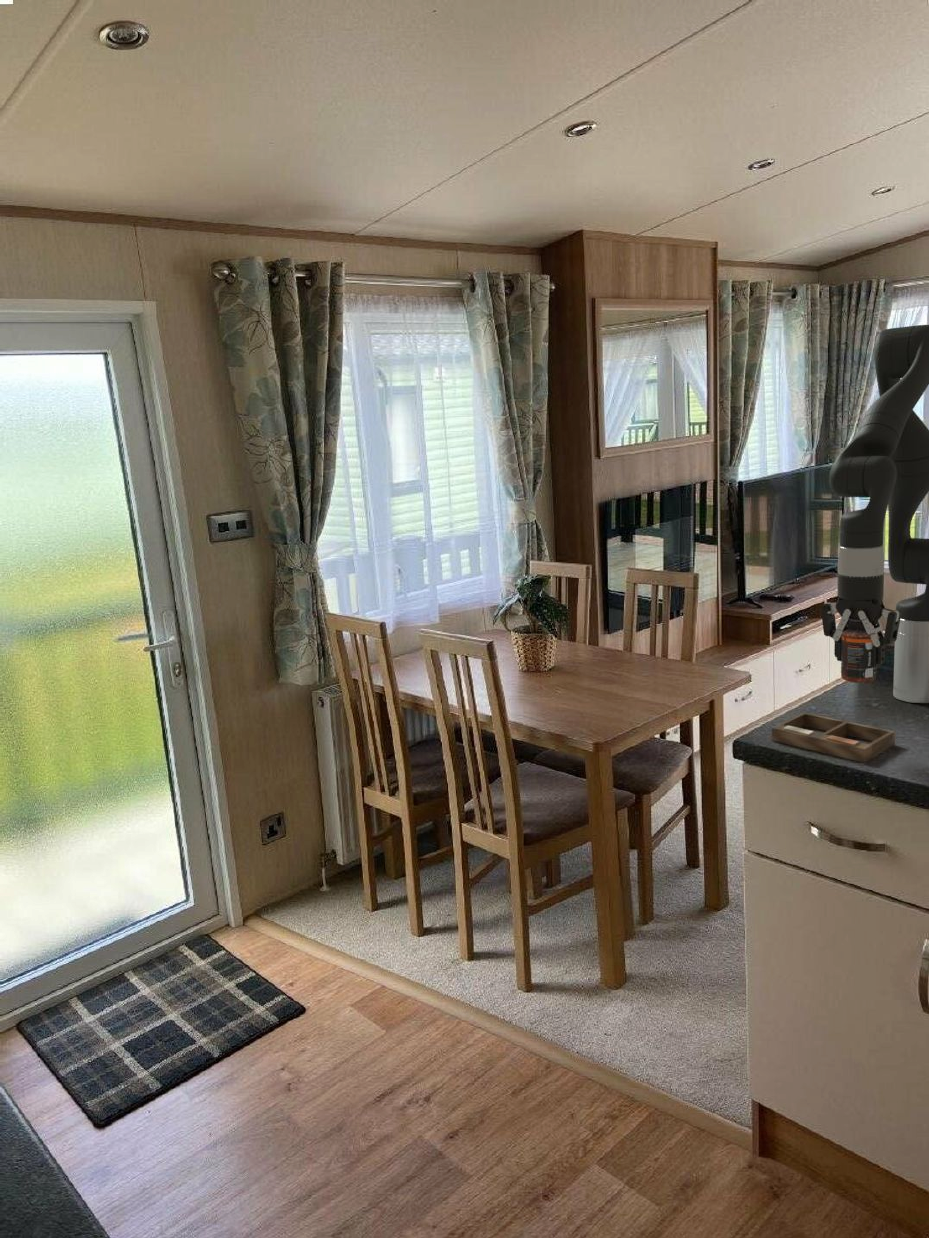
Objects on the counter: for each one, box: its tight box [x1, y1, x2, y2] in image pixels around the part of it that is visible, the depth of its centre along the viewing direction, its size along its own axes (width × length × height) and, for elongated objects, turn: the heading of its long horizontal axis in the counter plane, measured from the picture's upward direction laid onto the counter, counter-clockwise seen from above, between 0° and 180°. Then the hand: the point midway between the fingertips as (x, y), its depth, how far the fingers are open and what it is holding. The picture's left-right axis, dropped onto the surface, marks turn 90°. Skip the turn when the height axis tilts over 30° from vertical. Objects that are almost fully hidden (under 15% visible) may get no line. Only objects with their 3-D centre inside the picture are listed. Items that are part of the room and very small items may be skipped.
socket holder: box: [771, 712, 896, 764], centre depth 176 cm, size 18×11×3 cm, turn 41°
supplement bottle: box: [840, 619, 878, 684], centre depth 169 cm, size 6×6×11 cm
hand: (858, 662), depth 170 cm, fingers closed on supplement bottle, 6 cm apart
